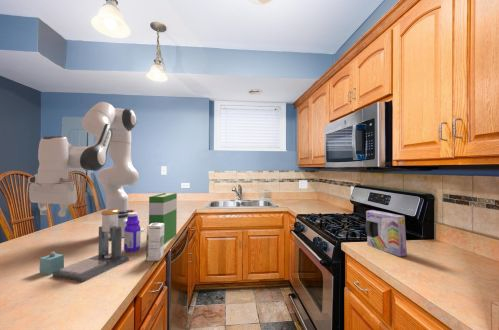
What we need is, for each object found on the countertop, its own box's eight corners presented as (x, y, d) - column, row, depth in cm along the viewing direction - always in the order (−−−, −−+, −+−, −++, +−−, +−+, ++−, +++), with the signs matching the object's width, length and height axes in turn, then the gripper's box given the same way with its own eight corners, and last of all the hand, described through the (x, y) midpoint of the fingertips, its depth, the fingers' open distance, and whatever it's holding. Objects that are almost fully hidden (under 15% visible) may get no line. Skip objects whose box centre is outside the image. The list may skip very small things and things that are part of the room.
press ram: (110, 237, 101) (111, 208, 101) (122, 238, 99) (122, 209, 99) (97, 241, 95) (97, 211, 95) (109, 243, 93) (109, 212, 93)
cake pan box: (364, 244, 120) (364, 209, 120) (372, 243, 121) (372, 208, 121) (398, 257, 101) (398, 216, 102) (407, 256, 103) (407, 216, 103)
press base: (103, 256, 102) (103, 224, 102) (129, 260, 98) (129, 226, 98) (52, 276, 83) (53, 236, 83) (81, 282, 79) (82, 240, 79)
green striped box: (163, 234, 135) (164, 193, 136) (176, 235, 135) (176, 193, 135) (148, 244, 118) (149, 196, 118) (163, 245, 117) (163, 196, 118)
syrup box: (150, 256, 102) (150, 222, 103) (164, 255, 103) (164, 222, 103) (145, 261, 97) (146, 226, 97) (160, 260, 97) (160, 225, 97)
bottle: (142, 249, 111) (143, 212, 111) (132, 253, 106) (132, 214, 106) (132, 247, 114) (132, 211, 114) (121, 251, 109) (121, 213, 109)
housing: (54, 267, 90) (54, 249, 90) (63, 269, 89) (64, 250, 89) (39, 273, 86) (39, 254, 86) (49, 275, 84) (49, 255, 84)
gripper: (82, 178, 88) (81, 215, 87) (44, 177, 94) (43, 212, 94) (64, 179, 82) (63, 219, 81) (25, 178, 88) (24, 215, 87)
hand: (52, 215), depth 87 cm, fingers open, 8 cm apart
